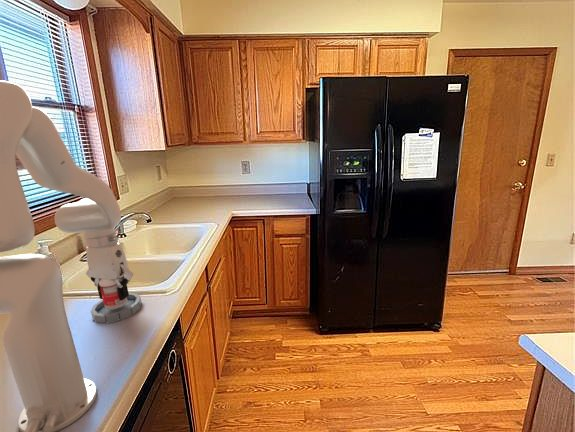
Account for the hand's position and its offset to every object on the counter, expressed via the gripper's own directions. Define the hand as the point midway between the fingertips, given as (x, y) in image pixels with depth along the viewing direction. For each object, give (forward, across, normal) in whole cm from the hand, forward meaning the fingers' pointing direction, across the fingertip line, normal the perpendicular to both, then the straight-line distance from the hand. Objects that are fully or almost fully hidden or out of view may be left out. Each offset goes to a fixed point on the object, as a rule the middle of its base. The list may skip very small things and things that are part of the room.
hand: (114, 296), depth 96 cm
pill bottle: (+3, 0, 0) cm, 3 cm away
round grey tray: (+5, 0, 0) cm, 5 cm away
